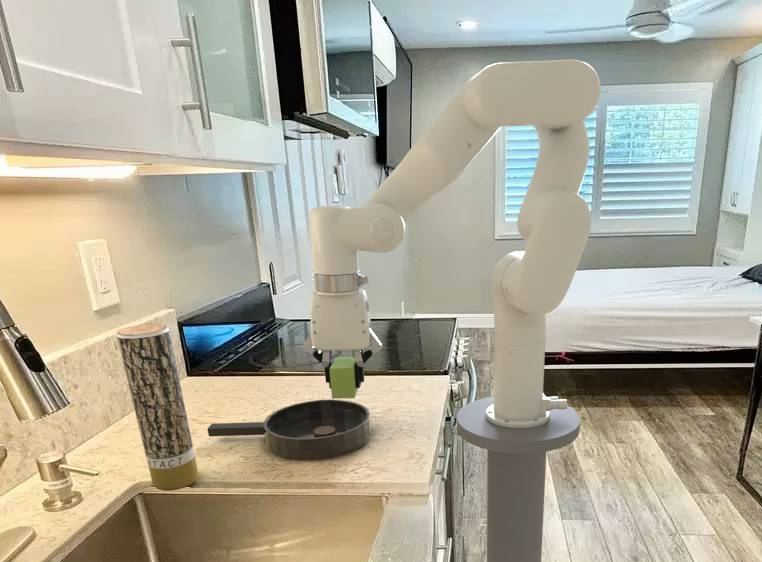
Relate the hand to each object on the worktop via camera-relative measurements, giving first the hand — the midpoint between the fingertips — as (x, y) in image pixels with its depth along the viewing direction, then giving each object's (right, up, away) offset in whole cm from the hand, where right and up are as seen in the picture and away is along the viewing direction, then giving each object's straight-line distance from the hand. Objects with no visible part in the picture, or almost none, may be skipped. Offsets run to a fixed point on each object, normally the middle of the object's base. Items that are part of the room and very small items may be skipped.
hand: (345, 384), depth 103 cm
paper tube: (-25, -16, -11) cm, 32 cm away
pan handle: (-20, -9, +3) cm, 22 cm away
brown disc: (-5, -9, +4) cm, 11 cm away
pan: (-6, -10, +4) cm, 12 cm away
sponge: (0, -1, +1) cm, 1 cm away
